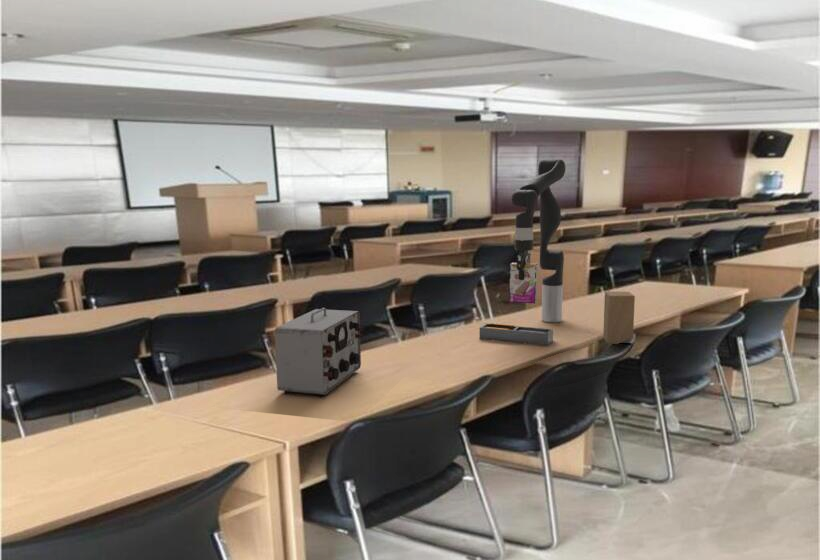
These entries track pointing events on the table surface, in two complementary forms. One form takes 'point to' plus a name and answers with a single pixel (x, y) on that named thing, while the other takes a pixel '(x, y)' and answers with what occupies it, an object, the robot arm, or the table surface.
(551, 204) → the robot arm
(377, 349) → the table surface
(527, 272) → the candy bar box
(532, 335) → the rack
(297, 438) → the table surface
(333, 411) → the table surface
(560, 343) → the table surface
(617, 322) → the wooden block
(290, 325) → the vintage electronic device
